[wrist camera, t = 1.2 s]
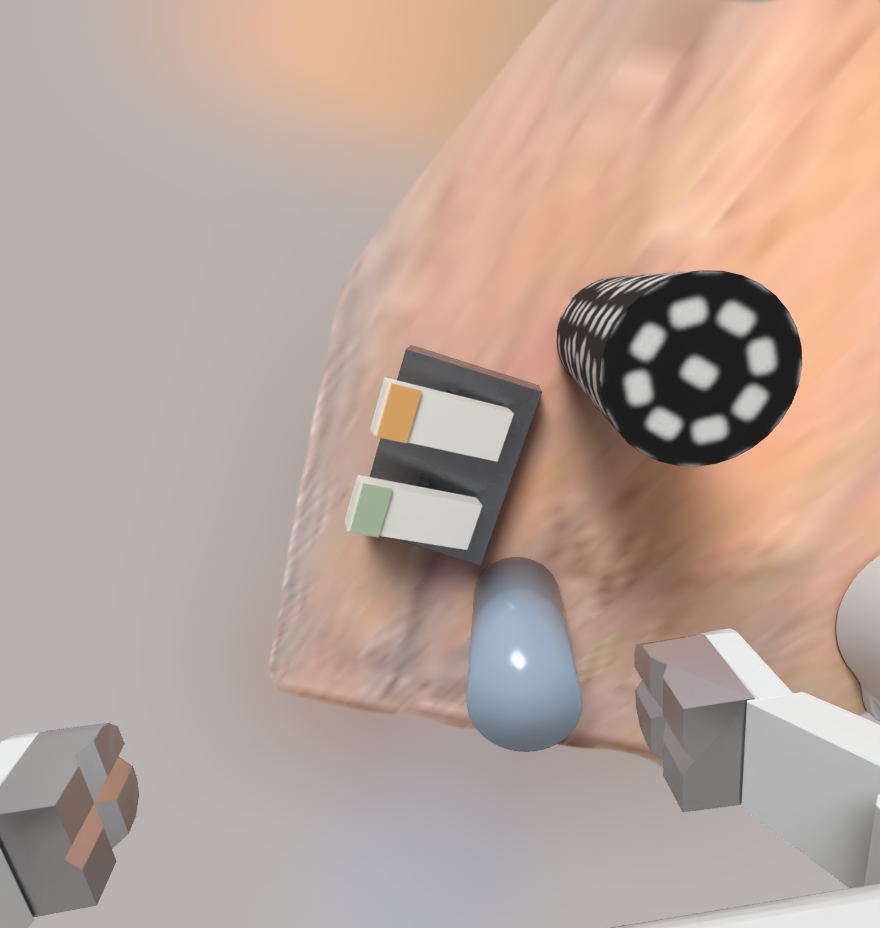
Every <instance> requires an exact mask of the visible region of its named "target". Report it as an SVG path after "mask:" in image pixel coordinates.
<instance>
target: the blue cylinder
mask: <svg viewBox="0 0 880 928" xmlns="http://www.w3.org/2000/svg"><path fill="white" fill-rule="evenodd" d="M467 708H468V713H469V716H470V718H471V720H472V722H473V724H474V726H475V727H476V728H477V730H478V731H479V732H480V733H481V734H482V735H483V736H484V737H485V738H486V739H488V740H489V741H491V742H492V743H494V744H496V745H498V746H500V747H503V748H506V749H509V750H514V751H524V752H529V751H537V750H543V749H546V748H549V747H551V746H553V745H556V744H557V743H559V742H561V741H562V740H563V739H565V738H566V737H567V736H568V735H569V734H570V733H571V732H572V730H573V729H574V728H575V726H576V724H577V723H578V721H579V718H580V715H581V710H582V696H581V691H580V686H579V681H578V677H577V672H576V667H575V663H574V658H573V653H572V648H571V644H570V639H569V634H568V630H567V625H566V620H565V615H564V611H563V606H562V601H561V596H560V592H559V588H558V584H557V582H556V580H555V578H554V576H553V575H552V574H551V572H550V571H549V570H548V569H547V568H546V567H544V566H543V565H541V564H540V563H538V562H536V561H534V560H531V559H527V558H521V557H512V558H506V559H502V560H499V561H497V562H495V563H493V564H491V565H490V566H489V567H487V568H486V569H485V570H484V571H483V573H482V574H481V575H480V577H479V578H478V580H477V583H476V585H475V590H474V601H473V616H472V631H471V645H470V660H469V675H468V690H467Z"/></svg>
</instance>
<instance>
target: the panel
mask: <svg viewBox="0 0 880 928" xmlns="http://www.w3.org/2000/svg"><path fill="white" fill-rule="evenodd" d="M397 380H398V381H402V382H406V383H410V384H414V385H418V386H422V387H426V388H430V389H434V390H438V391H442V392H446V393H450V394H454V395H458V396H462V397H466V398H470V399H474V400H478V401H482V402H486V403H490V404H494V405H498V406H502V407H506V408H508V409H509V410H511V411H512V412H513V413H514V415H513V418H512V421H511V424H510V427H509V429H508V432H507V435H506V438H505V441H504V444H503V447H502V450H501V453H500V456H499V459H498V462H496V461H492V460H487V459H482V458H478V457H473V456H468V455H464V454H459V453H454V452H450V451H445V450H440V449H436V448H431V447H427V446H422V445H417V444H413V443H408V442H407V443H402V442H397V441H393V440H388V439H383V438H381V439H380V442H379V446H378V449H377V453H376V456H375V460H374V463H373V467H372V470H371V474H370V477H371V478H377V479H382V480H387V481H392V482H398V483H403V484H408V485H413V486H418V487H424V488H429V489H434V490H439V491H444V492H450V493H455V494H460V495H465V496H470V497H476V498H477V499H478V500H479V502H480V503H481V504H482V508H481V511H480V514H479V517H478V520H477V523H476V526H475V529H474V531H473V534H472V537H471V540H470V543H469V546H468V549H467V550H464V549H458V548H452V547H445V546H439V545H433V544H427V543H421V542H414V541H408V540H402V539H398V540H401V541H404V542H407V543H410V544H414V545H417V546H420V547H423V548H426V549H429V550H433V551H436V552H439V553H442V554H445V555H448V556H452V557H455V558H458V559H461V560H464V561H468V562H471V563H474V564H477V565H480V566H481V563H482V560H483V557H484V555H485V552H486V549H487V546H488V543H489V540H490V538H491V535H492V532H493V529H494V526H495V523H496V521H497V518H498V515H499V512H500V509H501V506H502V504H503V501H504V498H505V495H506V492H507V489H508V487H509V484H510V481H511V478H512V475H513V472H514V470H515V467H516V464H517V461H518V458H519V455H520V452H521V450H522V447H523V444H524V441H525V438H526V435H527V433H528V430H529V427H530V424H531V421H532V418H533V416H534V413H535V410H536V407H537V404H538V401H539V399H540V396H541V393H542V391H541V389H540V387H539V385H536V384H533V383H529V382H526V381H523V380H520V379H517V378H514V377H510V376H507V375H504V374H501V373H498V372H495V371H491V370H488V369H485V368H482V367H479V366H476V365H472V364H469V363H466V362H463V361H460V360H457V359H453V358H450V357H447V356H444V355H441V354H438V353H434V352H431V351H428V350H425V349H422V348H419V347H415V346H412V345H411V346H410V347H408V348H407V349H406V351H405V354H404V358H403V361H402V365H401V368H400V372H399V375H398V379H397ZM394 539H396V538H394Z"/></svg>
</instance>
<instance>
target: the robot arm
mask: <svg viewBox="0 0 880 928" xmlns="http://www.w3.org/2000/svg"><path fill="white" fill-rule="evenodd" d="M836 634H837V641H838V646H839V649H840V652H841V654H842V656H843V658H844V660H845V662H846V664H847V665H848V667H849V668H850V669H851V670H852V672H853V673H854V674H855V676H856V677H857V679H858V680H859V682H860V684H861V689H862V696H863V702H864V705H865V708H866V710H867V711H868V712H869V713H870V714H871V715H872V716H873V717H875V719H877V720H878V721H880V555H879V556H878V557H876V558H875V559H874V560H872V561H871V562H870V563H869V564H868V565H867V566H866V567H865V568H864V569H863V570H862V571H861V572H860V573H859V574H858V575H857V576H856V578H855V579H854V580H853V582H852V583H851V584H850V586H849V588H848V589H847V591H846V593H845V595H844V597H843V599H842V602H841V604H840V608H839V611H838V616H837V624H836ZM635 668H636V670H637V671H638V673H639V675H640V677H641V678H642V681H641V682H640V684H639V685H638V687H637V688H636V690H635V696H636V709H637V714H638V719H639V724H640V727H641V730H642V733H643V736H644V738H645V741H646V743H647V745H648V747H649V749H650V751H651V752H652V753H653V754H655V755H657V756H658V757H660V758H662V759H663V776H664V778H665V780H666V781H667V783H668V785H669V787H670V789H671V791H672V793H673V795H674V797H675V798H676V800H677V802H678V804H679V806H680V808H681V810H682V811H683V812H688V811H696V810H703V809H711V808H719V807H727V806H735V805H742V808H743V809H744V810H745V811H747V812H748V813H749V814H751V815H752V816H753V817H755V818H756V819H757V820H759V821H760V822H762V823H763V824H764V825H766V826H767V827H768V828H770V829H771V830H772V831H774V832H775V833H776V834H778V835H779V836H781V837H782V838H783V839H784V840H786V841H787V842H789V843H790V844H791V845H792V846H794V847H795V848H796V849H798V850H799V851H800V852H802V853H803V854H805V855H806V856H807V857H809V858H810V859H811V860H813V861H814V862H815V863H817V864H818V865H820V866H821V867H822V868H823V869H825V870H826V871H827V872H829V873H830V874H831V875H833V876H834V877H835V878H837V879H838V880H839V881H841V882H842V883H843V884H845V885H846V886H847V887H849V889H843V890H837V891H831V892H825V893H819V894H813V895H806V896H800V897H795V898H788V899H782V900H776V901H770V902H764V903H758V904H752V905H746V906H740V907H734V908H727V909H721V910H715V911H709V912H703V913H697V914H691V915H685V916H679V917H673V918H667V919H660V920H654V921H648V922H642V923H636V924H630V925H624V926H618V927H612V928H880V725H879V724H877V723H874V722H872V721H870V720H867V719H865V718H863V717H860V716H858V715H856V714H853V713H851V712H849V711H846V710H844V709H842V708H839V707H837V706H834V705H832V704H830V703H827V702H825V701H823V700H820V699H818V698H816V697H813V696H811V695H809V694H806V693H804V692H801V693H794V694H793V693H792V691H791V690H790V689H789V688H788V687H787V686H786V685H785V684H784V683H783V682H782V681H781V679H780V678H779V677H778V676H777V675H776V674H775V673H774V672H773V671H772V670H771V669H770V667H769V666H768V665H767V664H766V663H765V662H764V661H763V660H762V659H761V658H760V657H759V656H758V654H757V653H756V652H755V651H754V650H753V649H752V648H751V647H750V646H749V645H748V644H747V642H746V641H745V640H744V639H743V638H742V637H741V636H740V635H739V634H738V633H737V632H736V631H735V630H733V629H730V628H727V629H722V630H716V631H711V632H705V633H699V634H698V635H694V636H688V637H681V638H675V639H668V640H662V641H655V642H649V643H642V644H636V649H635ZM124 744H125V743H124V741H123V738H122V736H121V734H120V731H119V729H118V726H115V725H113V724H110V723H105V724H98V725H89V726H83V727H82V726H81V727H74V728H66V729H58V730H50V731H46V732H37V733H30V734H23V735H16V736H12V737H10V738H8V739H6V740H4V741H2V742H1V743H0V928H28V927H29V926H30V925H31V924H32V923H33V921H34V918H33V917H38V916H43V915H48V914H53V913H59V912H64V911H69V910H75V909H80V908H85V907H91V906H96V905H97V904H98V901H99V899H100V897H101V895H102V892H103V890H104V888H105V886H106V883H107V881H108V879H109V877H110V874H111V872H112V870H113V868H114V865H115V863H116V859H115V857H114V854H113V851H112V848H113V847H115V846H116V845H117V844H118V843H119V842H120V841H121V840H122V839H123V838H124V837H125V836H127V834H129V831H130V829H131V827H132V824H133V822H134V819H135V817H136V812H137V805H138V797H139V792H138V782H137V777H136V774H135V771H134V768H133V766H131V765H130V764H129V763H127V762H126V761H124V760H123V759H122V758H120V757H119V754H120V752H121V750H122V748H123V746H124Z"/></svg>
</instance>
